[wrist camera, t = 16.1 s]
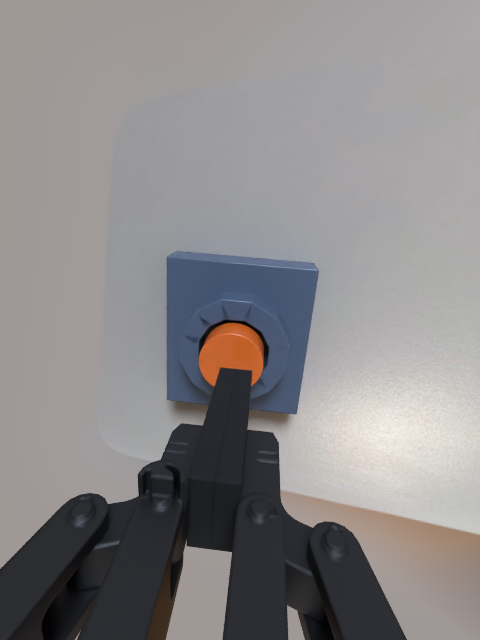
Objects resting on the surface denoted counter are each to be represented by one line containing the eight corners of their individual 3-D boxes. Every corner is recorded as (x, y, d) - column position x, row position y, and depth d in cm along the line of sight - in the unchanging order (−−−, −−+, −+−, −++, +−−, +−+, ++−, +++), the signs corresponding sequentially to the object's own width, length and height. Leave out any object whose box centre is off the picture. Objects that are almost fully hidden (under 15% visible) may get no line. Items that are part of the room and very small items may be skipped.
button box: (176, 251, 22) (157, 262, 19) (314, 262, 22) (323, 277, 18) (175, 384, 26) (159, 415, 22) (294, 396, 25) (298, 431, 22)
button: (205, 319, 20) (199, 330, 18) (266, 325, 20) (266, 337, 18) (203, 373, 21) (197, 388, 20) (260, 380, 21) (260, 395, 19)
